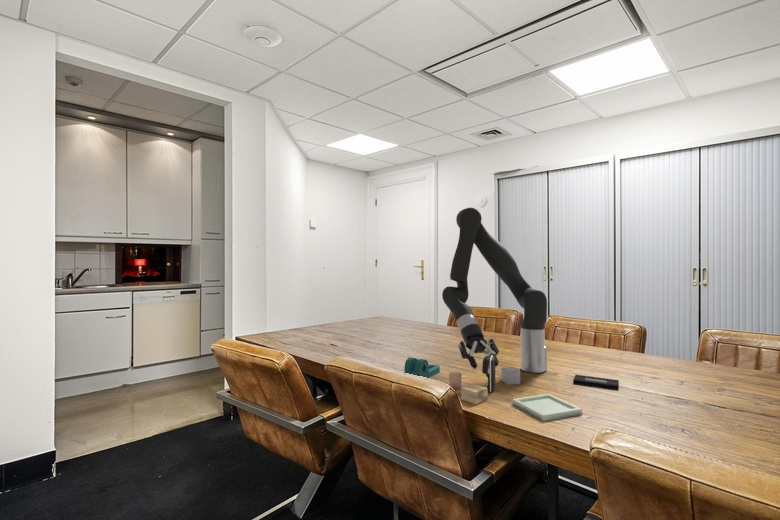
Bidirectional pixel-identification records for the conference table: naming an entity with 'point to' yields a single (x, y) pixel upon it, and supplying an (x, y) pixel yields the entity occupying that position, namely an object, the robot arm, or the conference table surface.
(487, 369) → the battery charger
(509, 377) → the grey box
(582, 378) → the vhs tape
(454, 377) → the pink glossy rounded part
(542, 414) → the tray
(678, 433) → the conference table surface
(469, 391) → the oak block
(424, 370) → the bracket
